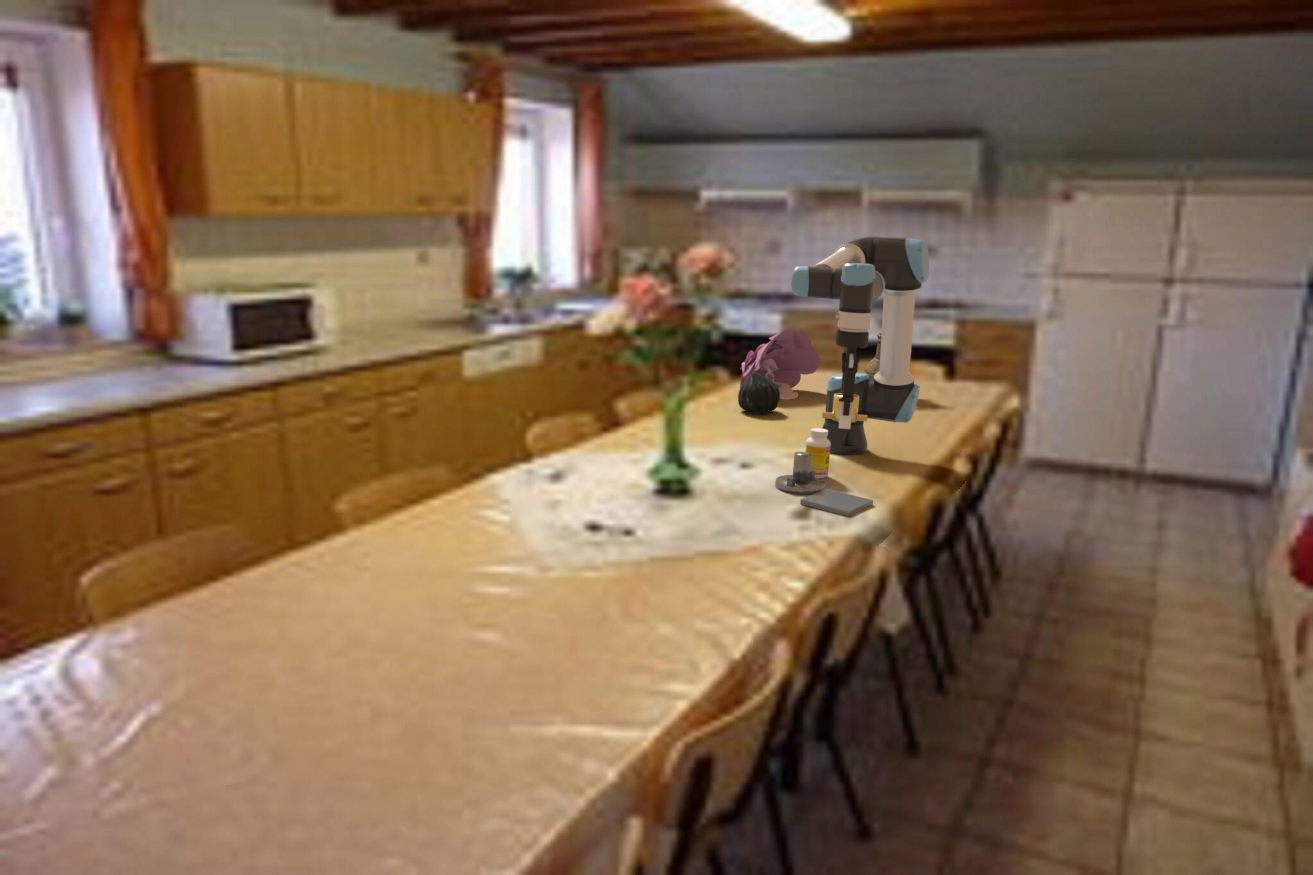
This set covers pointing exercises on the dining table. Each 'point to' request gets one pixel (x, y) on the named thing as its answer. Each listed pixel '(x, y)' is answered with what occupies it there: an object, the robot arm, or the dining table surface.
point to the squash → (758, 394)
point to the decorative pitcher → (874, 361)
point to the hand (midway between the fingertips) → (844, 425)
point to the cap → (836, 409)
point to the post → (801, 477)
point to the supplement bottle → (819, 451)
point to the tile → (836, 502)
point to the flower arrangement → (783, 361)
